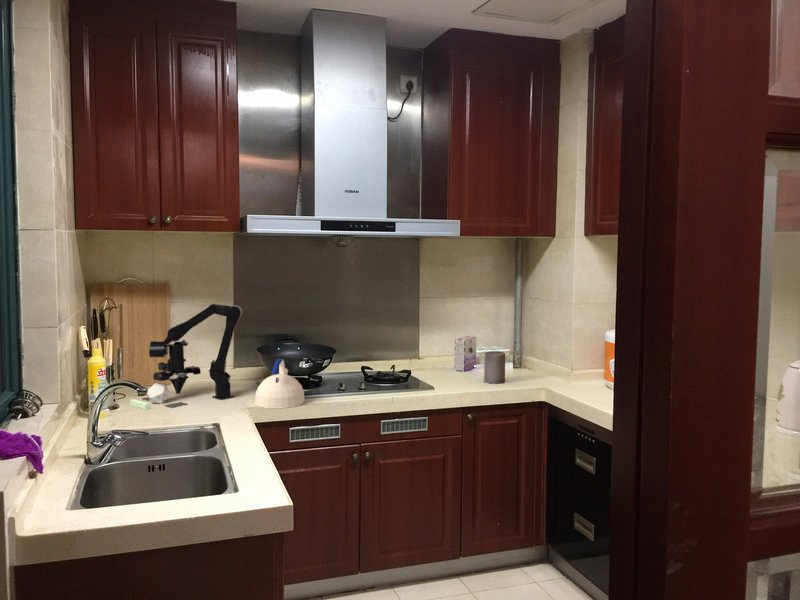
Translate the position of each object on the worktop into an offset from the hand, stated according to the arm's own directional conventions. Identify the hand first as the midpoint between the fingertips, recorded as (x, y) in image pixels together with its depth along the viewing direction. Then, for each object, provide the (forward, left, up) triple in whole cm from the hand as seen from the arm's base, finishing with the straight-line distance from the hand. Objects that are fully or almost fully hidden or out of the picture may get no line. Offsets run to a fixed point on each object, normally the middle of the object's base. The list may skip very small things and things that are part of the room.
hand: (178, 393), depth 268 cm
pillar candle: (-83, -114, -3) cm, 141 cm away
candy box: (-55, -131, -3) cm, 142 cm away
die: (+1, +8, -3) cm, 9 cm away
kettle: (-37, -24, -3) cm, 44 cm away
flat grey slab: (0, +10, -2) cm, 10 cm away
